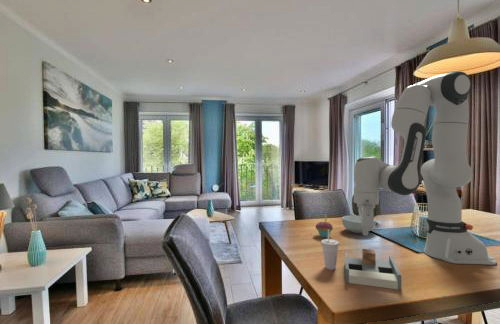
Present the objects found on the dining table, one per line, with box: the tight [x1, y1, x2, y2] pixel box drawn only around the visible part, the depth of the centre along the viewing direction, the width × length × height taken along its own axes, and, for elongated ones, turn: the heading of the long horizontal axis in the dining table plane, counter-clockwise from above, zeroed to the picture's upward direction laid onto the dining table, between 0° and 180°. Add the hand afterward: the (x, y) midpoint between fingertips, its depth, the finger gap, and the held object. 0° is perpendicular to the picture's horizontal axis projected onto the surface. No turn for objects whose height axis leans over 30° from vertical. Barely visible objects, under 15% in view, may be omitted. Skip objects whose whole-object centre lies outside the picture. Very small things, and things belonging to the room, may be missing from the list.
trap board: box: [344, 251, 402, 291], centre depth 91 cm, size 16×16×4 cm
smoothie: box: [320, 230, 340, 271], centre depth 98 cm, size 6×6×14 cm
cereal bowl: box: [341, 215, 377, 234], centre depth 142 cm, size 17×17×7 cm
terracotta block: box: [361, 248, 377, 265], centre depth 95 cm, size 4×4×4 cm
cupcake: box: [315, 214, 334, 238], centre depth 135 cm, size 9×8×12 cm
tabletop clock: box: [351, 193, 381, 218], centre depth 163 cm, size 14×9×25 cm, turn 50°
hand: (365, 234), depth 102 cm, fingers closed
